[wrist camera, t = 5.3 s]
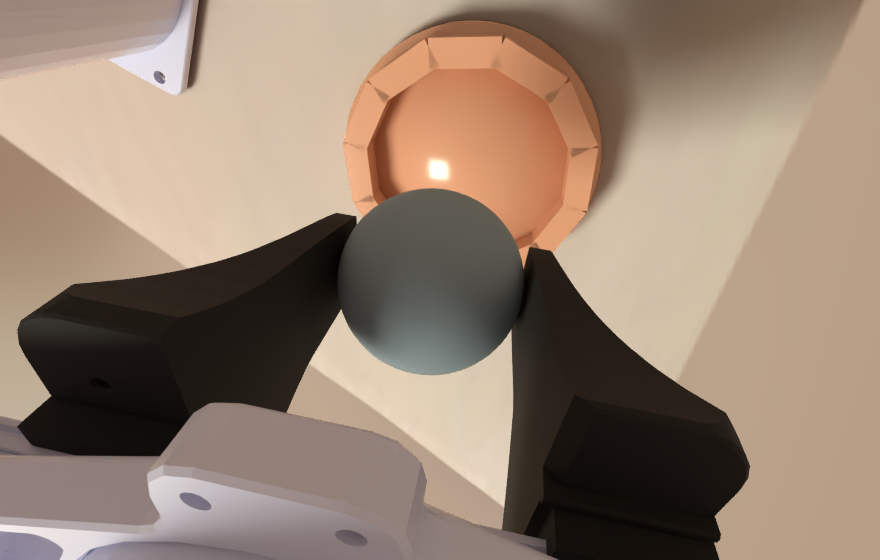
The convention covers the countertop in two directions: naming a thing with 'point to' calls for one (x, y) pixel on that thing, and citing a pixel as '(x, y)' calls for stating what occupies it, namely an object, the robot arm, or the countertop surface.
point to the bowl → (478, 128)
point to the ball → (430, 281)
